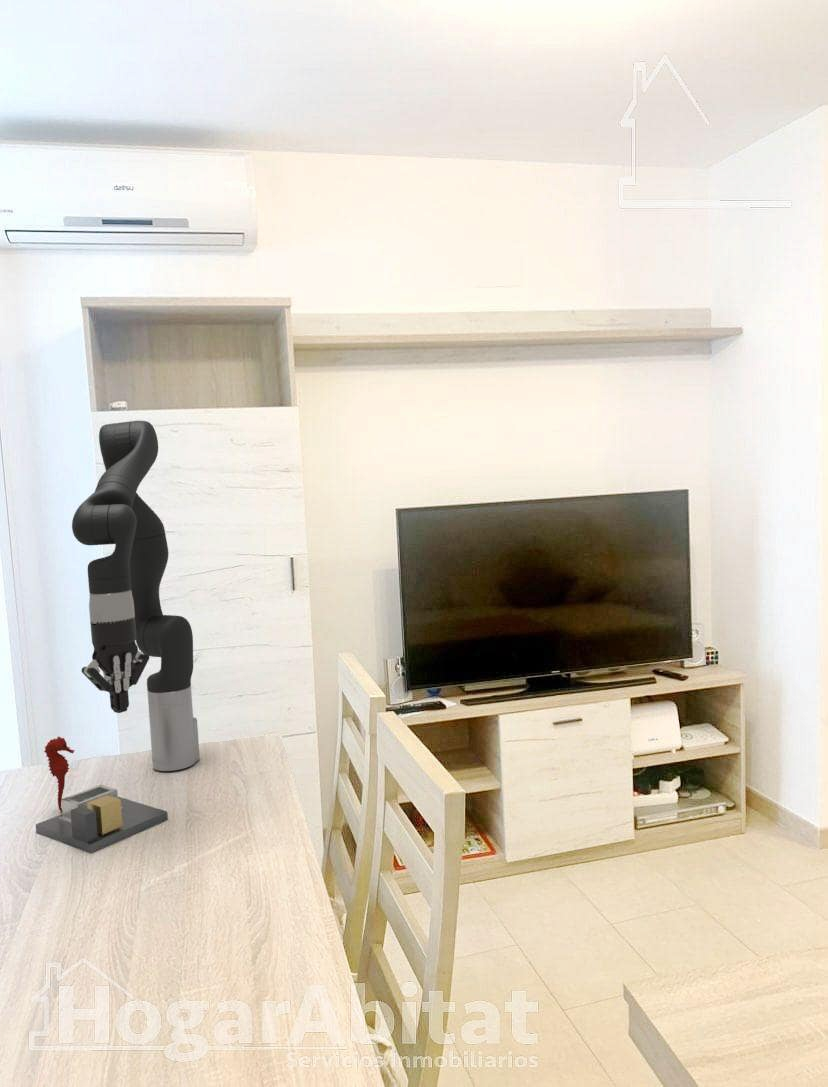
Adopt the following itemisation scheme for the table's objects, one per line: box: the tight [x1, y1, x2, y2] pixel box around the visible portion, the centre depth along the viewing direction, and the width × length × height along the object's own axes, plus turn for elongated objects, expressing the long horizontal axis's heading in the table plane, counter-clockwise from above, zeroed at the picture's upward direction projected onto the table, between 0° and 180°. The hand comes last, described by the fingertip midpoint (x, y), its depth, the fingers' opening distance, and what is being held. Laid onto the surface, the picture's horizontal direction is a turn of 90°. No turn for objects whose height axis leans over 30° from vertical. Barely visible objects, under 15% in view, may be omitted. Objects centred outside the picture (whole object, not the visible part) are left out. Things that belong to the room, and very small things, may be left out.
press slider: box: [87, 795, 123, 835], centre depth 144 cm, size 4×4×5 cm
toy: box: [43, 736, 76, 813], centre depth 157 cm, size 2×5×15 cm, turn 119°
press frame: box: [35, 784, 169, 854], centre depth 150 cm, size 16×17×6 cm
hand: (120, 711), depth 147 cm, fingers closed
